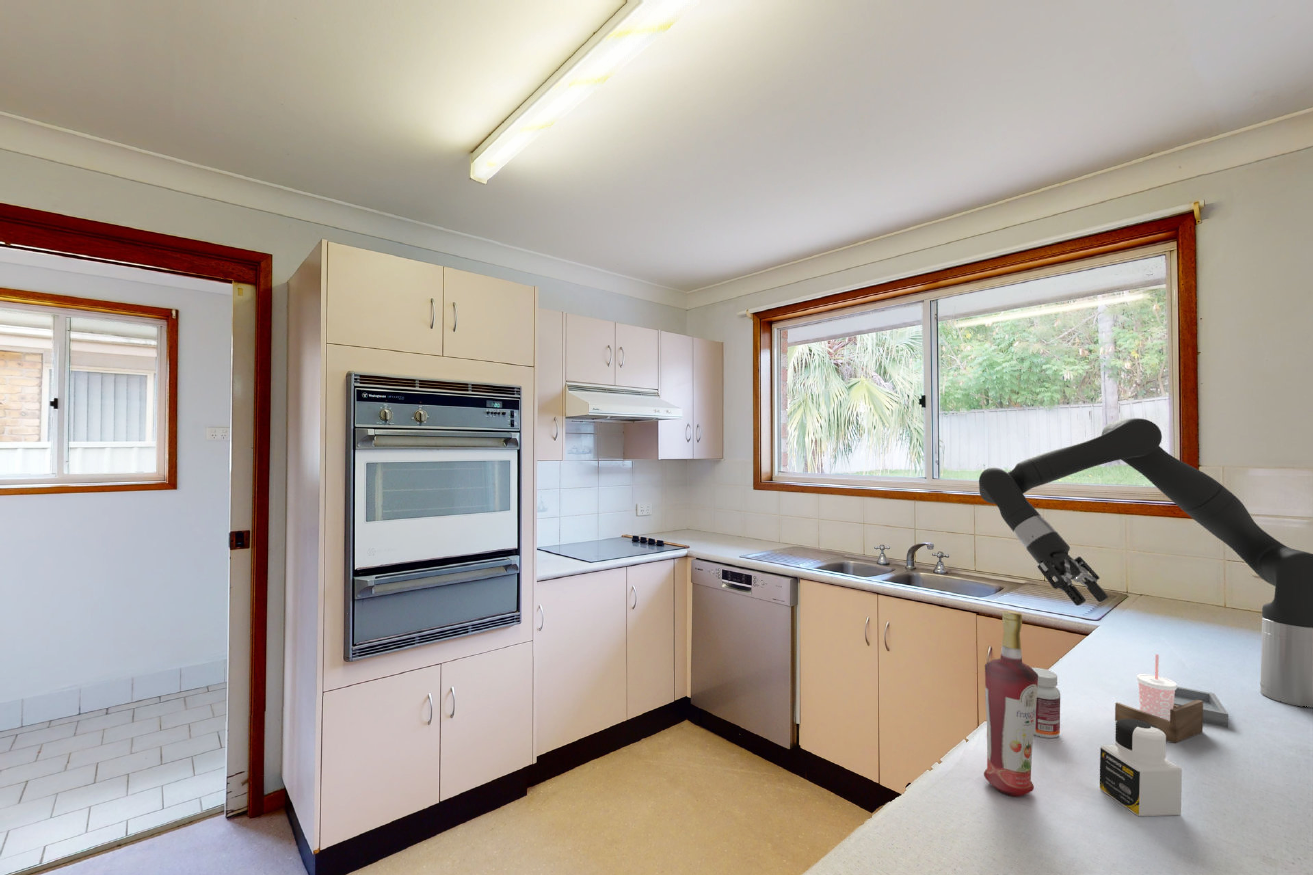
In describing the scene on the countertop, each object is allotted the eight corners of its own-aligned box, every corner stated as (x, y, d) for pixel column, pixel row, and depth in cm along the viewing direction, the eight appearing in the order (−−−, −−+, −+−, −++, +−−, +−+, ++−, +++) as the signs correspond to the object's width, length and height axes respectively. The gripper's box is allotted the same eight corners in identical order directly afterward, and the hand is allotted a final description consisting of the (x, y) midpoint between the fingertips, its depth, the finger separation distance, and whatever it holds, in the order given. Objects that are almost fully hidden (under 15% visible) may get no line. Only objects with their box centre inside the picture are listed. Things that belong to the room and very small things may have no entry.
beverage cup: (1143, 729, 116) (1144, 657, 116) (1130, 715, 121) (1131, 647, 121) (1182, 735, 113) (1183, 662, 114) (1167, 721, 119) (1168, 651, 119)
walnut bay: (1202, 731, 115) (1203, 701, 115) (1174, 743, 110) (1175, 710, 110) (1142, 710, 124) (1143, 681, 124) (1115, 720, 119) (1115, 690, 119)
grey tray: (1214, 705, 127) (1214, 693, 127) (1228, 726, 117) (1228, 714, 117) (1142, 690, 134) (1142, 679, 134) (1149, 710, 124) (1150, 698, 124)
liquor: (1014, 806, 90) (1018, 621, 90) (971, 780, 96) (975, 608, 96) (1046, 796, 92) (1050, 617, 93) (1002, 771, 99) (1006, 604, 99)
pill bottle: (1065, 733, 113) (1067, 674, 113) (1050, 742, 109) (1051, 681, 110) (1030, 720, 118) (1032, 663, 118) (1015, 728, 115) (1016, 669, 115)
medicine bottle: (1098, 788, 95) (1099, 714, 95) (1139, 787, 95) (1141, 713, 95) (1138, 817, 88) (1139, 736, 88) (1182, 815, 88) (1184, 735, 88)
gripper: (1034, 531, 133) (1088, 595, 123) (1071, 529, 139) (1125, 589, 129) (1010, 550, 138) (1060, 613, 127) (1047, 547, 144) (1097, 607, 134)
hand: (1093, 601), depth 128 cm, fingers open, 8 cm apart
